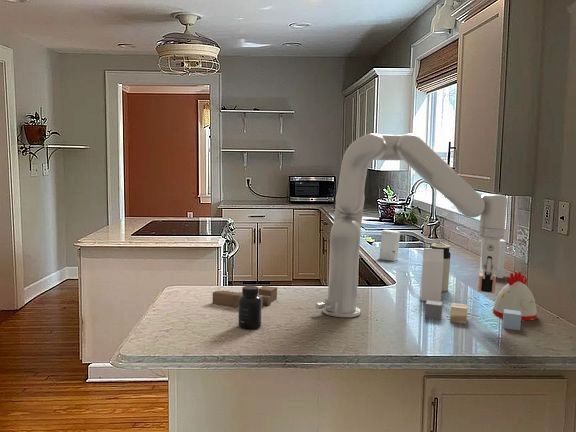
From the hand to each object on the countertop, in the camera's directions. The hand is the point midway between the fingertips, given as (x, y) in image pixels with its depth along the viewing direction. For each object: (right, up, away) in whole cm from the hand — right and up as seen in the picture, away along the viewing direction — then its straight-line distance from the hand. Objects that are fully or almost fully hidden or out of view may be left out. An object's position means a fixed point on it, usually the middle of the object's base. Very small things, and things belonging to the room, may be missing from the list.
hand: (486, 289), depth 185 cm
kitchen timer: (+14, -11, +13) cm, 22 cm away
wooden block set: (-78, -7, +17) cm, 80 cm away
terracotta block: (0, -1, 0) cm, 1 cm away
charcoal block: (-15, -10, +6) cm, 20 cm away
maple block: (-8, -11, +4) cm, 14 cm away
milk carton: (-10, -8, +30) cm, 33 cm away
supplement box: (+29, -4, +79) cm, 84 cm away
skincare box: (-12, +1, +110) cm, 111 cm away
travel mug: (-3, -6, +47) cm, 47 cm away
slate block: (+7, -12, -1) cm, 14 cm away
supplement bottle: (-75, -10, -12) cm, 76 cm away
